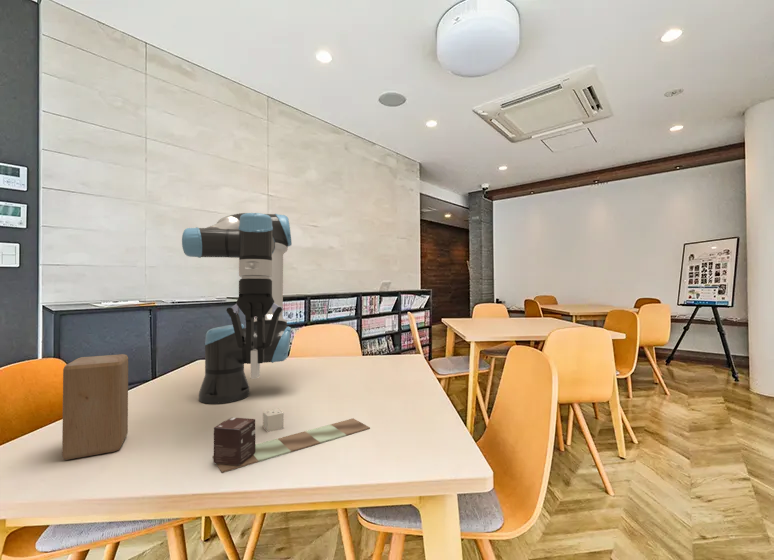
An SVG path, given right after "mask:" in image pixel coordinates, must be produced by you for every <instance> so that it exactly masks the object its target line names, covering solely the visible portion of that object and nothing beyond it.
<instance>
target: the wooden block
mask: <svg viewBox="0 0 774 560" xmlns="http://www.w3.org/2000/svg"><path fill="white" fill-rule="evenodd" d="M128 419H129V357H128V354H125V353H121V354H120V353H119V354H109V355H105V354H104V355H96V356H95V355H94V356H81V357H80V356H79V358H76V359H74V360H72V361H71V362H69V363H67V364H65V366H64V367H63V368H62V439H61V441H62V445H61V447H62V448H61V449H62V450H61V455H62V458H63V460H74V459H80V458H85V457H90V456H91V457H92V456H95V455H103V454H108V453H113V452H117V451H120V449H121V447H122V445H123V443H124V442H125V440H126V437H127V435H128V432H129V431H128V427H129V425H128V424H129V423H128V422H129V420H128Z"/></svg>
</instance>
